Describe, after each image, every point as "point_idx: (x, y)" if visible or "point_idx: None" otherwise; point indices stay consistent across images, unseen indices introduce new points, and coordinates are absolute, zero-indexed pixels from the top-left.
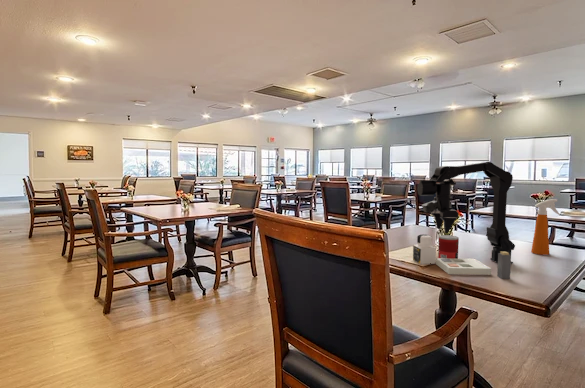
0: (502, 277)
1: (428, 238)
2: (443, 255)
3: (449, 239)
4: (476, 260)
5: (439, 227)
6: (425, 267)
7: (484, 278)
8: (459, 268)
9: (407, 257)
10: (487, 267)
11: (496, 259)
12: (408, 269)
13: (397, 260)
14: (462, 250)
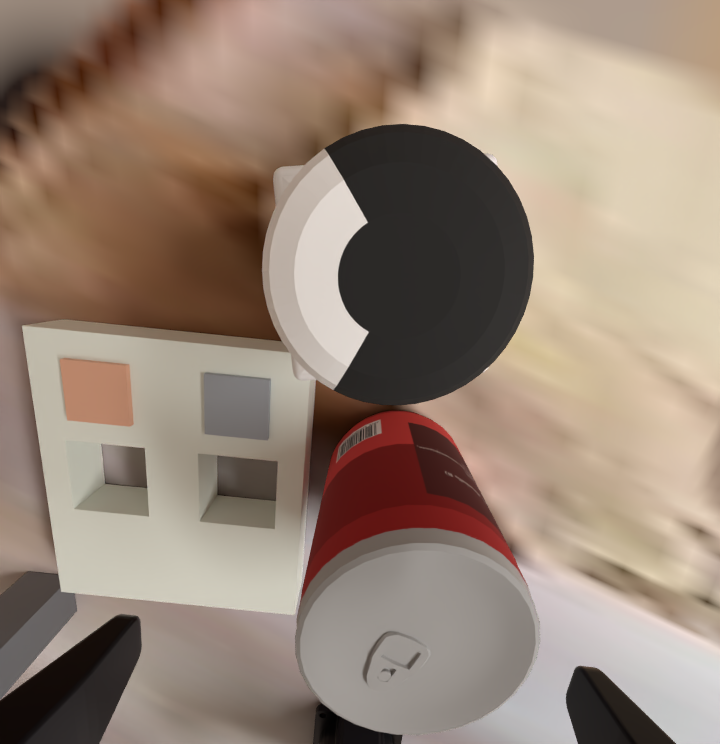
0: (21, 581)
1: (264, 293)
2: (355, 442)
3: (304, 598)
4: (248, 605)
5: (585, 726)
6: (224, 217)
7: (18, 493)
8: (35, 403)
9: (541, 178)
10: (82, 583)
11: (337, 726)
12: (155, 24)
13: (452, 21)
14: (643, 679)
